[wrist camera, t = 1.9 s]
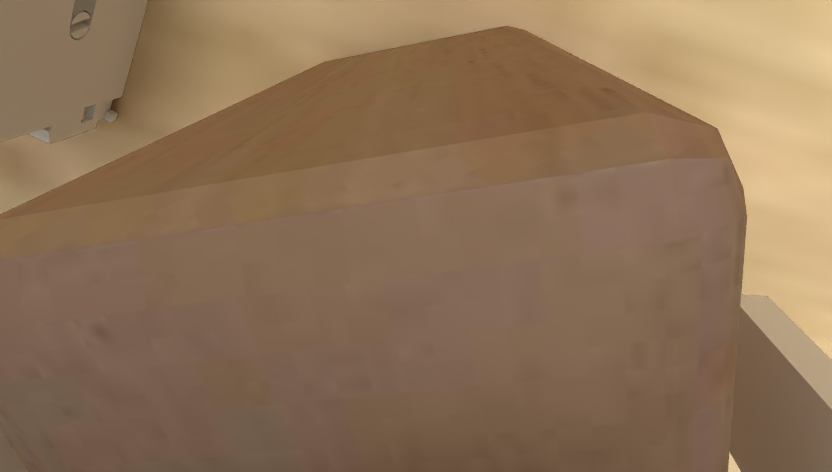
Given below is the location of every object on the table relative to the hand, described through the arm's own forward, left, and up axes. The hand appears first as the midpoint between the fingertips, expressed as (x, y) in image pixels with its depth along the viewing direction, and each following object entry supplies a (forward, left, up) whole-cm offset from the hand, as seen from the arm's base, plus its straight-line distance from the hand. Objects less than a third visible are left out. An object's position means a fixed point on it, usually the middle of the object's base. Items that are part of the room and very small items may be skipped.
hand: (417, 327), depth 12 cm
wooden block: (0, 0, -15) cm, 15 cm away
